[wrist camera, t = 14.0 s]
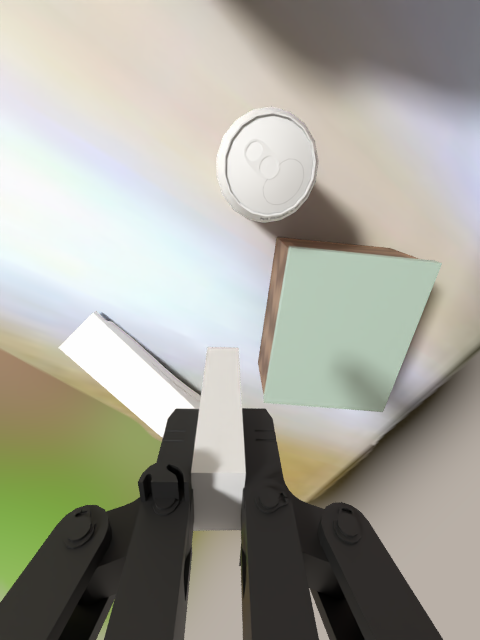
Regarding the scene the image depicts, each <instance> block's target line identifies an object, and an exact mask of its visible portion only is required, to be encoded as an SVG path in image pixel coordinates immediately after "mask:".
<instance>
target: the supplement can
mask: <svg viewBox="0 0 480 640" xmlns="http://www.w3.org/2000/svg"><path fill="white" fill-rule="evenodd" d="M317 168H318V156H317V151H316V145H315V141H314V139H313V137H312V135H311V133H310V132H309V130H308V128H307V126H306V125H305V123H303V122H302V121H301V120H300V119H299V118H297V117H296V116H295V115H294V114H292V113H291V112H290V111H286V110H283V109H279V108H275V107H272V106H271V107H265V108H259V109H253V110H251V111H249V112H248V113H246V114H245V115H243V116H241V117H240V118H238V119H237V120H235V122H234V123H233V124H232V126H231V127H230V128H229V130H228V131H227V132H226V134H225V135H224V136H223V139H222V142H221V145H220V148H219V151H218V154H217V179H218V182H219V185H220V188H221V192H222V195H223V196H224V198H225V199H226V200H227V202H228V203H229V204H230V206H231V207H232V209H233V210H235V211H236V212H238V213H239V214H241V215H242V216H244V217H245V218H247V219H249V220H254V221H258V222H263V223H266V222H272V221H279V220H282V219H283V218H285V217H287V216H289V215H291V214H293V213H294V212H296V211H297V210H298V209H299V207H300V206H301V205H302V204H303V203H304V202H305V201H306V200H307V199H308V197H309V195H310V192H311V190H312V188H313V186H314V184H315V182H316V175H317Z"/></svg>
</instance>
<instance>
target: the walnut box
mask: <svg viewBox="0 0 480 640" xmlns="http://www.w3.org/2000/svg"><path fill="white" fill-rule="evenodd" d="M289 246H296V247H306V248H316V249H325V250H335V251H345V252H355V253H364V254H374V255H384V256H394V257H403V258H413V259H418V258H415V257H413V256H410V255H407V254H405V253H402V252H399V251H396V250H394V249H391V248H383V247H373V246H363V245H352V244H342V243H332V242H322V241H312V240H302V239H292V238H282V237H277V239H276V246H275V253H274V259H273V266H272V273H271V279H270V286H269V293H268V299H267V306H266V313H265V320H264V326H263V333H262V340H261V346H260V353H259V360H258V365H259V371H260V377H261V382H262V388H263V394H264V391H265V385H266V379H267V373H268V367H269V361H270V355H271V349H272V343H273V337H274V331H275V325H276V320H277V314H278V308H279V302H280V296H281V290H282V284H283V278H284V272H285V266H286V260H287V254H288V248H289Z"/></svg>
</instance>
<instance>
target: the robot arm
mask: <svg viewBox="0 0 480 640" xmlns="http://www.w3.org/2000/svg"><path fill="white" fill-rule="evenodd" d="M138 486H139V491H140V498H138V499H137V500H135V501H134V502H132V503H130V504H127V505H125V506H122V507H119V508H116V509H113V510H110V511H107V512H105V510H104V509H103V508H101V507H99V506H97V505H86V506H83V507H79V508H77V509H75V510H73V511H72V512H70V513H69V514H67V515H66V516H65V517H64V518H63V519H62V520H61V521H60V522H59V523H58V524H57V526H56V527H55V528H54V530H53V531H52V532H51V534H50V535H49V536H48V538H47V539H46V541H45V542H44V543H43V545H42V546H41V548H40V549H39V550H38V552H37V553H36V555H35V556H34V557H33V558H32V560H31V562H30V563H29V564H28V565H27V567H26V568H25V570H24V571H23V572H22V574H21V575H20V576H19V578H18V579H17V580H16V582H15V583H14V585H13V586H12V588H11V589H10V590H9V591H8V593H7V594H6V596H5V597H4V598H3V600H2V601H1V602H0V640H96V639H97V636H98V634H99V632H100V630H101V628H102V626H103V623H104V621H105V619H106V617H107V615H108V612H109V610H110V608H111V606H112V604H113V602H114V604H113V608H112V612H111V616H110V619H109V623H108V627H107V630H106V634H105V638H104V640H184V633H185V621H186V612H187V601H188V591H189V581H190V570H191V559H192V536H193V531H197V530H198V531H200V530H241V553H240V565H239V566H241V583H242V584H241V585H242V620H243V640H319V638H318V633H317V628H316V622H315V617H314V612H313V607H312V602H311V597H310V591H309V588H310V590H311V593H312V595H313V598H314V600H315V603H316V606H317V608H318V611H319V613H320V616H321V618H322V621H323V624H324V626H325V629H326V631H327V634H328V637H329V639H330V640H443V639H442V638H441V635H440V634H439V632H438V631H437V629H436V628H435V626H434V624H433V623H432V621H431V620H430V618H429V616H428V615H427V613H426V612H425V610H424V609H423V607H422V605H421V604H420V602H419V601H418V599H417V597H416V596H415V595H414V593H413V591H412V590H411V588H410V587H409V585H408V584H407V582H406V580H405V579H404V577H403V575H402V574H401V572H400V571H399V569H398V567H397V566H396V564H395V563H394V561H393V559H392V558H391V556H390V555H389V553H388V552H387V550H386V548H385V547H384V545H383V544H382V542H381V541H380V539H379V537H378V536H377V534H376V533H375V531H374V530H373V528H372V526H371V525H370V523H369V521H368V520H367V519H366V518H365V517H364V515H363V514H362V513H361V512H360V511H359V510H357V509H356V508H354V507H353V506H351V505H348V504H345V503H342V502H341V503H332V504H330V505H329V506H327V507H326V508H325V509H322V508H319V507H316V506H314V505H310V504H308V503H305V502H303V501H301V500H299V499H298V498H297V497H295V496H294V495H293V494H292V493H291V492H290V491H289V489H288V488H287V486H286V484H285V482H284V478H283V474H282V468H281V463H280V457H279V452H278V446H277V442H276V435H275V432H274V424H273V419H272V417H271V416H270V414H269V413H268V412H267V410H266V409H245V408H242V399H241V382H240V365H239V348H228V347H207V353H206V361H205V369H204V377H203V384H202V392H201V400H200V407H199V409H175V410H174V411H173V413H172V414H171V415H170V416H169V418H168V420H167V424H166V428H165V432H164V435H163V439H162V443H161V447H160V451H159V455H158V459H157V463H155V464H153V465H151V466H150V467H149V468H148V469H147V470H146V471H145V472H143V474H142V475H141V477H140V479H139V481H138ZM114 599H115V601H114Z"/></svg>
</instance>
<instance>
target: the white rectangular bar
mask: <svg viewBox="0 0 480 640" xmlns="http://www.w3.org/2000/svg"><path fill="white" fill-rule="evenodd" d="M59 348H60V349H61V350H62V351H63V352H64V353H65V354H66V355H68V356H69V357H70V358H71V359H72V360H73V361H74V362H76V363H77V364H78V365H79V366H80V367H81V368H83V369H84V370H85V371H86V372H87V373H88V374H89V375H91V376H92V377H93V378H94V379H95V380H96V381H98V382H99V383H100V384H101V385H102V386H103V387H104V388H106V389H107V390H108V391H109V392H110V393H111V394H112V395H114V396H115V397H116V398H117V399H118V400H119V401H121V402H122V403H123V404H124V405H125V406H126V407H127V408H129V409H130V410H131V411H132V412H133V413H134V414H136V415H137V416H138V417H139V418H140V419H141V420H142V421H144V422H145V423H146V424H147V425H148V426H149V427H150V428H152V429H153V430H154V431H155V432H156V433H157V434H159V435H160V436H161V437H162V438H163V435H164V432H165V428H166V424H167V420H168V418H169V416H170V415H171V414H172V413H173V411H174V410H175V409H199V407H200V400H201V395H199V394H198V393H196V392H195V391H193V390H192V389H190V388H189V387H188V386H186V385H185V384H184V383H182V382H181V381H180V380H179V379H177V378H176V377H175V376H174V375H173V374H171V373H170V372H169V371H168V370H167V369H166V368H165V367H163V366H162V365H161V364H160V363H159V362H158V361H157V360H156V359H155V358H154V357H153V356H152V355H150V354H149V353H148V352H147V351H146V350H145V349H144V348H143V347H142V346H141V345H140V344H139V343H137V342H136V341H135V340H134V339H133V338H132V337H130V336H129V335H128V334H127V333H126V332H124V331H123V330H122V329H121V328H119V327H118V326H117V325H116V324H114V323H113V322H112V321H106V320H105V319H104V318H103V317H102V316H101V315H100V314H99V313H98V312H97V311H95V312H94V313H92V314H91V315H90V316H89V317H88V318H87V319H86V320H85V321H84V322H83V323H82V324H81V325H80V326H79V327H78V328H77V330H76V331H75V332H74V333H73V334H72V335H71V336H70V337H69V338H68V339H67V340H66V341H65V342H64V343H63V344H62V345H61V346H60V347H59Z"/></svg>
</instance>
